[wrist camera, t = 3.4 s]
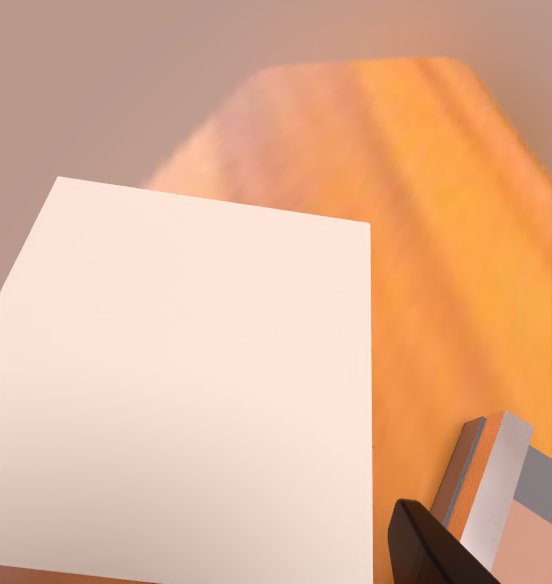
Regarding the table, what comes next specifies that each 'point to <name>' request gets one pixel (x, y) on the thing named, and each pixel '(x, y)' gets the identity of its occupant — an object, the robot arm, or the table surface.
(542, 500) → the display base
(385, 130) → the table surface
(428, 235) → the table surface
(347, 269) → the cream block
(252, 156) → the table surface
